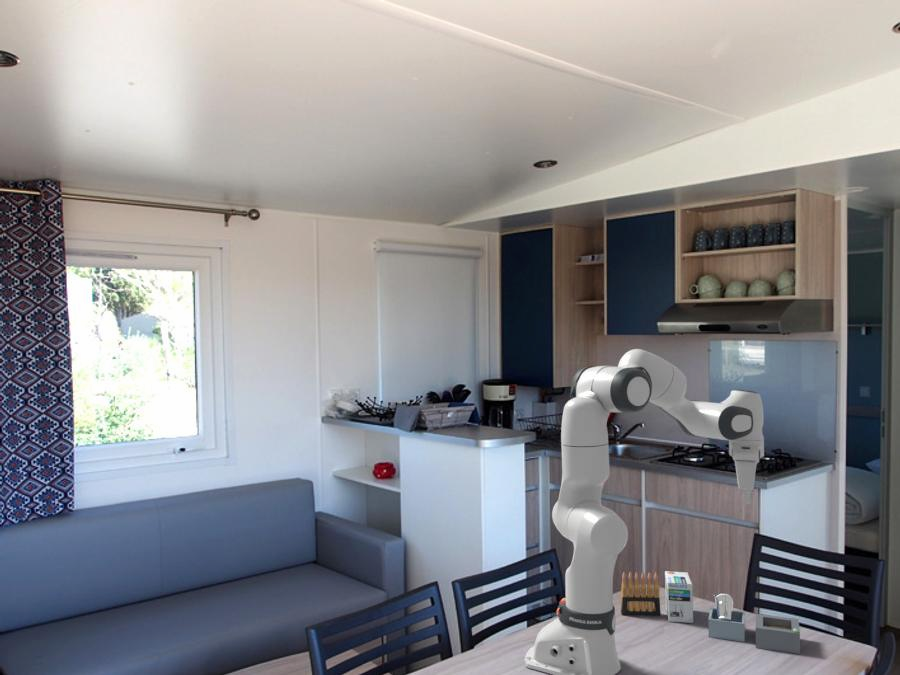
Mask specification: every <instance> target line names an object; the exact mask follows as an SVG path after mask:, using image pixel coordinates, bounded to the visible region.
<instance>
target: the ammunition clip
mask: <svg viewBox="0 0 900 675" xmlns="http://www.w3.org/2000/svg"><path fill="white" fill-rule="evenodd" d="M644 572H645V571H642V573H641V575H640V576H639V573H638V571H636V572H635V575H634V580H633V574H632V572H631V571H629V573H628V578H627V575H626V571H623V573H622V576H621V579H622V580H621V590H620V591H621V598H620V600H621V601H620V613H621V615H622V616H634V617H635V616H637V617H638V616H641V617H642V616H643V617H644V616H645V617H646V616H647V617H661V615H662V614H661V601H660V599H661V598H660V585H659V575H658V572H656V571H655V573H654V575H653V577H652V573H651V572H650V571H649V572H648V574H647V583H646V574H645V573H644ZM639 577H640V578H639ZM627 579H628V581H627ZM627 583H628V584H627Z"/></svg>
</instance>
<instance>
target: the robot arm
mask: <svg viewBox="0 0 900 675" xmlns="http://www.w3.org/2000/svg"><path fill="white" fill-rule="evenodd" d="M622 355H623V356H621V358H620V360H619V362H618V364H617V366H614V365H599V366H597V365H596V366H595V365H590V366H585V367H582V368H581V369H579V370H577V372H575V375H574V376H573V378H572V381H571V384H570V394H569V397H570V399H569V400H568V401H567V402H566V403H565V405H564V406H563V412H562V416H561V430H560V431H561V432H560V442H561V471H562V472H561V483H560V489H559V495H558V500H557V501H556V502H555V504H554V505H553V508H552V511H551V518H552V522H553V524H554V526H555V528H556V529H557V531H558V532H559V533H560V534H561V535H562V537H564V538H565V539H567V540H569V541H570V542H572V545H573V553H572V554H573V555H572V558H571V559H572V560H571V563H570V566H568V567H567V569H566V571H565V575H564V577H565V580H564V581H565V597H563V598H562V599H561V600H560V601H559V605H558V606H557V608H556V609H557V610H556V616H557V618H555V619H554V620H553V621H551V622H549V623H548V624H546V625H545V626H543V627H542V628H541V630H540V631H539V632H538V633H537V636H536V638H535V642H534V645H533V646H531V647H530V648H529V649H528V651H527V652H526V654H525V657H524V665H525V667H526V668H529V669H530V670H531V669H532V670H535V671H538V672H543V673H545V674H549V675H616V674H618V673H619V672H620V671H621V669H622V665H621V662H620V659H619V655H618V651H617V650H618V649H617V645H616V638H615V632H616V625H617V624H616V610H615V609H616V608H615V605H614V604H613V603H614V600H613V598H614V595H613V594H614V592H613V591H614V590H613V589H614V588H613V586H614V583H613V582H614V580H613V579H614V571H615V566H616V562H617V560H618V556H619V554H620V553H621V552H622V551H623V550H624V549H625V548H626V545H627V543H628V539H629V530H628V526H627V525H626V523H625V521H624V520H623V519H622V518H621V517H620V515H619V514H617V513H616V512H615V511H614V510H612V509H611V508H608V507H606V506H604V505H602V493H603V488H604V485H605V482H606V481H607V480H608V479H609V478H610V473H611V472H610V453H609V452H610V451H609V449H610V448H609V446H610V445H609V433H608V427H607V425H608V424H607V422H608V419H609V417H610V414H611V413H623V414H632V413H637V412H640V411H642V410H643V409H644V408H645V407H646V406H647V405H648V403H649V402H650V403H651V404H654V405H655V406H656V407H658V409H660V410H661V411H663V412H664V413H666V414H667V415H668V416H670V417H671V418H673V419H674V420H675V422H676V423H677V424H678V425H679V427H680V429H681V431H683V433H685V434H686V435H687V436H690V437H694V438H697V437H698V438H708V439H715V440H722V441H728V455H729V456H730V457H732V460H733V461H734V465H735V473H736V482H737V486H738V489H739V490H741V491H742V492H741V493H742V503H743V505H750V504H751V496H752V490H754V487H755V479H756V471H757V464H758V463H760V460H761V459H762V458H764V457H765V438H764V434H763V426H764V405H763V400H762V396H761V394H759V393H758V392H756V391H755V390H754V391H753V390H747V389H746V390H745V389H732V390H731V391H730V394H729V396H727V398H726V399H725V400H723V401H720V402H709V401H702V400H696V399H687V398H686V397H685V394H686V391H687V389H688V388H687V387H688V386H687V384H688V382H687V377H686V375H685V374H684V372H683V371H682V370H680V369H679V368H678V367H677V366H675V365H674V364H673V363H671V362H670V361H668V360H666V359H664V357H661V356H659V355H656V354H654V353H652V352H649V351H648V350H644V349H641V348H634V349H630V350H628V351H627V352H625V353H624V354H622Z"/></svg>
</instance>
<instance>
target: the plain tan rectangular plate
mask: <svg viewBox="0 0 900 675" xmlns="http://www.w3.org/2000/svg"><path fill="white" fill-rule="evenodd" d="M764 626H765V627H773V628H780V629H788V630H790V628H787V627H779V626H772V625H764Z"/></svg>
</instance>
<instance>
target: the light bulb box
mask: <svg viewBox="0 0 900 675" xmlns="http://www.w3.org/2000/svg"><path fill="white" fill-rule="evenodd" d="M664 583H665V584H664V585H665V587H664V588H665V591H664V592H665V594H664V595H665V610H666V615H667V620H668V622H672V623H687V624H689V623H690V624H694V600H693V599H694V593H693V586H694V585H693V582H692V580H691V577H690V575H689V572H685V571H684V572H683V571H682V572H681V571H668V570H667V571H666V570H665V571H664Z"/></svg>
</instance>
